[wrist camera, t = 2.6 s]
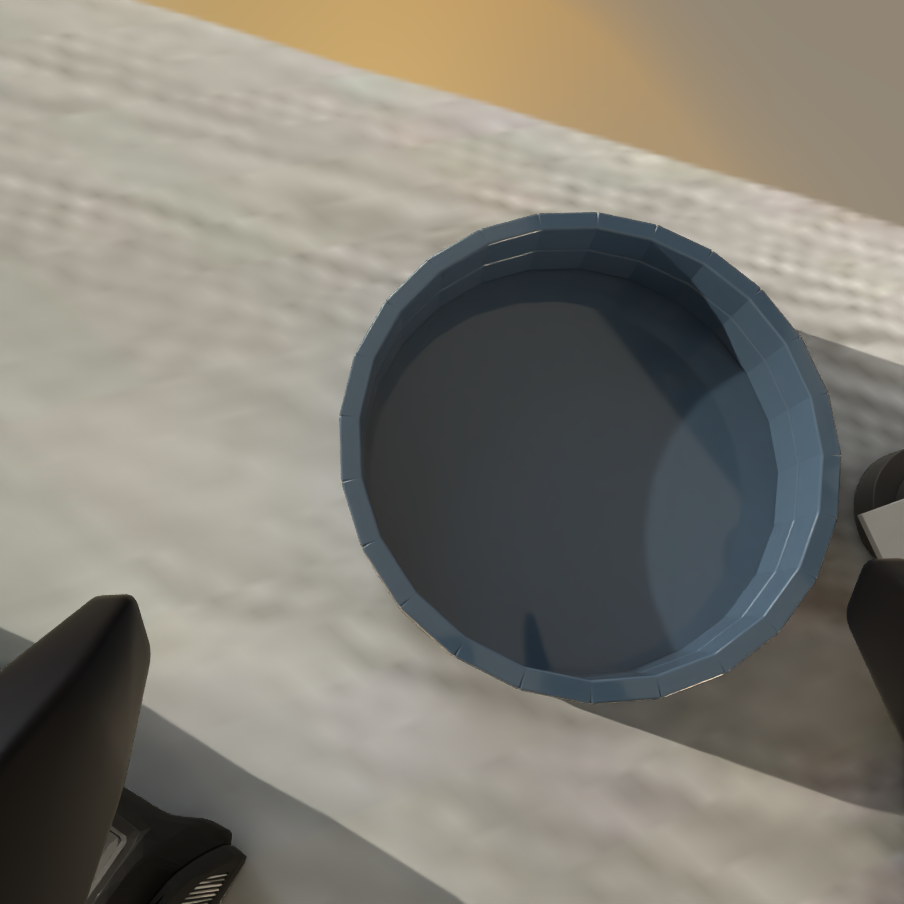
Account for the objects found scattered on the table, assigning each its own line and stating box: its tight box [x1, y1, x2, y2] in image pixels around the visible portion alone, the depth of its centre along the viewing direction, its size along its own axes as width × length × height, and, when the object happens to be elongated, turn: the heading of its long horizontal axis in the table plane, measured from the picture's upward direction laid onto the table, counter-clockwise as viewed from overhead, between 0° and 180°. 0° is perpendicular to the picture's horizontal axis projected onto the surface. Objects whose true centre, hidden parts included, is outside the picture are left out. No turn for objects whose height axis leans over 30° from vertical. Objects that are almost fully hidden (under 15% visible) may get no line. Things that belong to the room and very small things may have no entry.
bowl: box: [339, 212, 841, 704], centre depth 21 cm, size 14×14×3 cm
